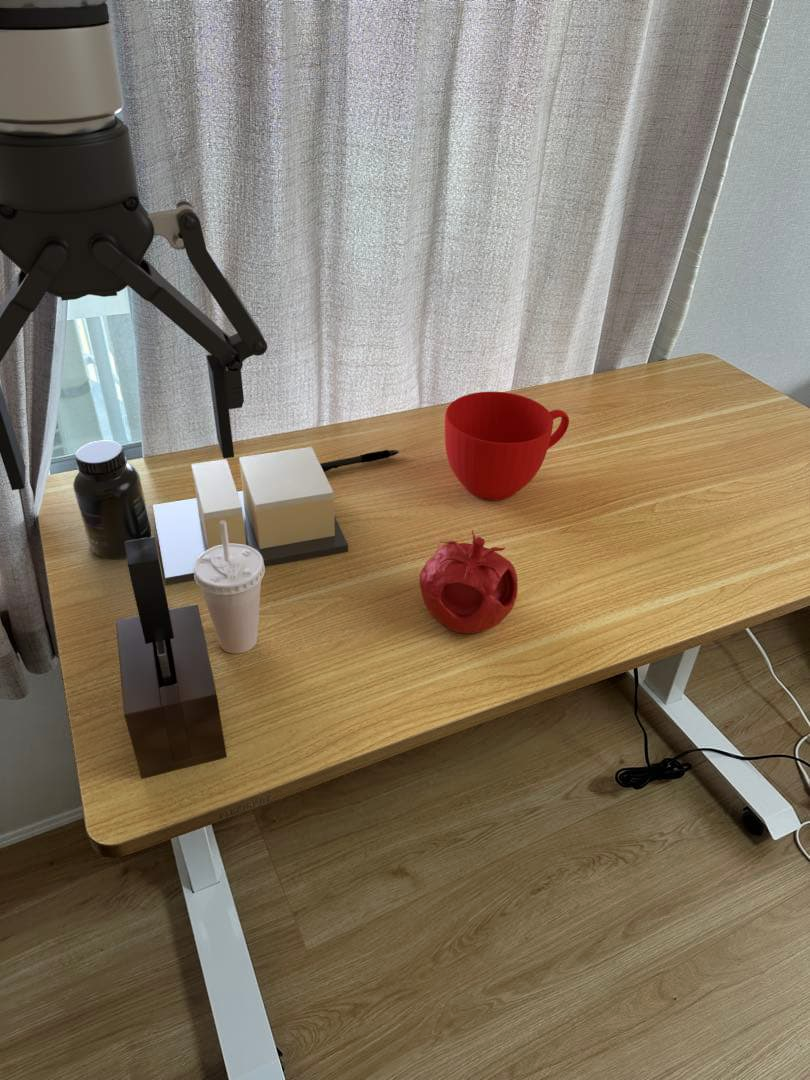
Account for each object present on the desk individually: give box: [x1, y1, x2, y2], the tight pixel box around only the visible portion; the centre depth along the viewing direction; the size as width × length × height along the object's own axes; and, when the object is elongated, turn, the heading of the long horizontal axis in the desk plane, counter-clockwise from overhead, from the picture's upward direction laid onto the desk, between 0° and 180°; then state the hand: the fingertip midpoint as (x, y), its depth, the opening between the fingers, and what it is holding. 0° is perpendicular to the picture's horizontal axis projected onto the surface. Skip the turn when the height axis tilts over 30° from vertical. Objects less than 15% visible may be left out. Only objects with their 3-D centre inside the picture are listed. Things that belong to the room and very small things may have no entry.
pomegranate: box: [418, 529, 519, 634], centre depth 81 cm, size 10×10×9 cm
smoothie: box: [194, 520, 266, 654], centre depth 75 cm, size 6×6×14 cm
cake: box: [238, 446, 335, 549], centre depth 92 cm, size 9×10×6 cm
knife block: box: [115, 603, 228, 779], centre depth 69 cm, size 7×11×8 cm, turn 19°
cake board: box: [152, 490, 349, 586], centre depth 93 cm, size 20×14×1 cm
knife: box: [125, 536, 175, 686], centre depth 65 cm, size 2×6×18 cm, turn 19°
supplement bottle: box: [72, 439, 153, 560], centre depth 87 cm, size 7×7×12 cm
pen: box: [319, 449, 399, 473], centre depth 104 cm, size 14×2×1 cm, turn 113°
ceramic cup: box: [444, 391, 570, 501], centre depth 100 cm, size 13×17×10 cm
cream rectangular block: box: [190, 458, 246, 549], centre depth 90 cm, size 4×10×6 cm, turn 19°
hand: (126, 463), depth 55 cm, fingers open, 13 cm apart
